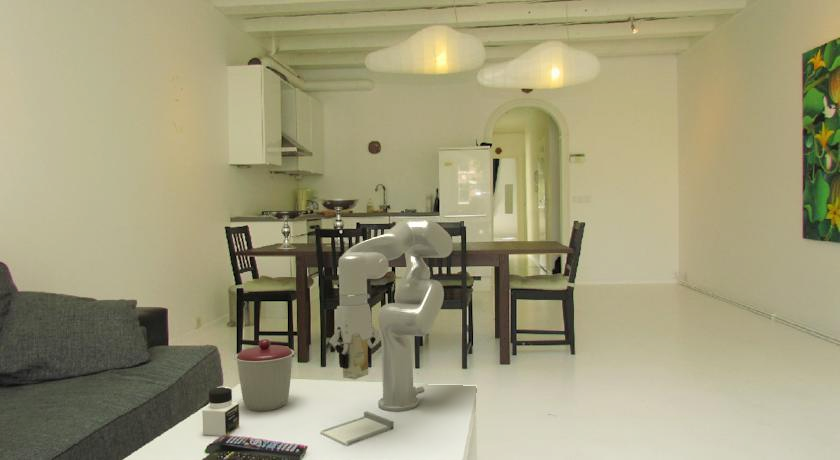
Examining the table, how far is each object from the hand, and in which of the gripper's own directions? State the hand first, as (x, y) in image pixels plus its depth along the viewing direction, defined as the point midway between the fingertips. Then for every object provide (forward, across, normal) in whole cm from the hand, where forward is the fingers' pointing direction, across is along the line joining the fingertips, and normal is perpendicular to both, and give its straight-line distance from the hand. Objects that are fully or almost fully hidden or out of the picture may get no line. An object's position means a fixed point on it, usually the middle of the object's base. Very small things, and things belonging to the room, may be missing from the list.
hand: (355, 364), depth 153 cm
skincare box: (+3, 0, 0) cm, 3 cm away
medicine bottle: (+19, +26, -28) cm, 42 cm away
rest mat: (+18, 0, 0) cm, 18 cm away
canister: (+19, +7, -38) cm, 43 cm away
